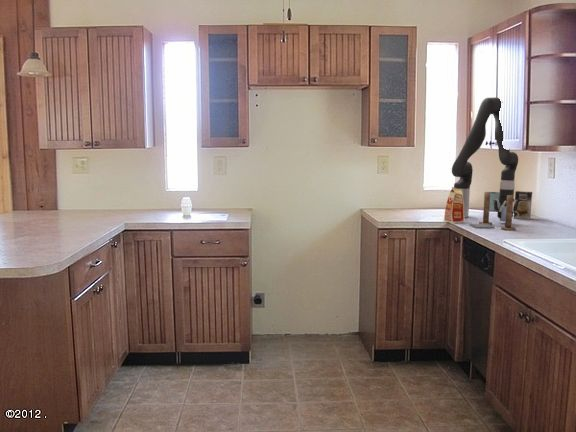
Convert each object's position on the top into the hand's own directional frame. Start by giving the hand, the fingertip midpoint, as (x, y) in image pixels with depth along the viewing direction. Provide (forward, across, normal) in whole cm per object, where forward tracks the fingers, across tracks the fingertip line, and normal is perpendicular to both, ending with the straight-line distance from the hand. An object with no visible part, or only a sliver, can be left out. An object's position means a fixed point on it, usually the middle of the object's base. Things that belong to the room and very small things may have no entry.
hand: (504, 218), depth 316 cm
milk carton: (+3, +26, -8) cm, 27 cm away
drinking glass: (+4, -13, -53) cm, 54 cm away
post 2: (+3, +6, +19) cm, 21 cm away
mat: (+3, +17, +11) cm, 21 cm away
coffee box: (+3, -18, -18) cm, 26 cm away
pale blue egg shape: (+2, 0, 0) cm, 2 cm away
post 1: (+3, +12, +3) cm, 13 cm away
